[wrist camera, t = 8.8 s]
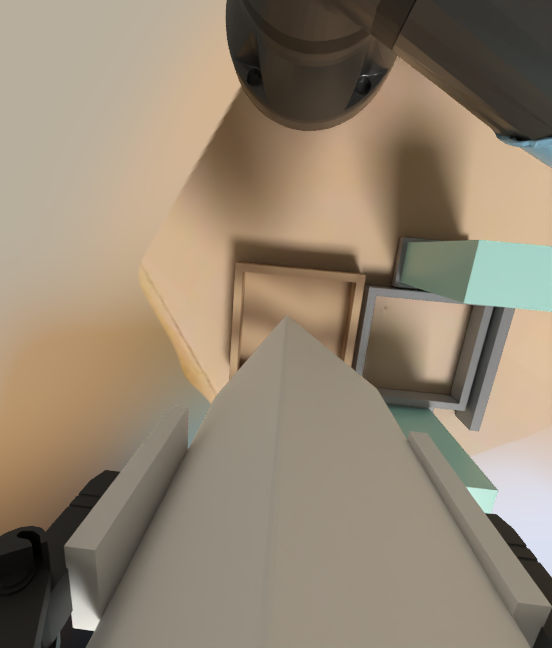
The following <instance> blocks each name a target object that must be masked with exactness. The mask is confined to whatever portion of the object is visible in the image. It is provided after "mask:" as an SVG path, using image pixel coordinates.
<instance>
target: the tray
mask: <svg viewBox="0 0 552 648" xmlns="http://www.w3.org/2000/svg"><path fill="white" fill-rule="evenodd" d="M365 278H366V275H364V274H361V273H354V272H344V271H333V270H322V269H312V268H301V267H290V266H280V265H269V264H258V263H248V262H237V263H235V281H234V300H233V318H232V337H231V355H230V374H229V380H230V379H231V378H232V377H233V376H234V375H235V373H236V372H237V371H238V370H239V369H240V368H241V367H242V365H243V364H244V363H245V362H246V361H247V360H248V358H249V357H250V356H251V355H252V354H253V353H254V351H255V350H256V349H257V348H258V347H259V346H260V344H261V343H262V342H263V341H264V340H265V339H266V338H267V336H268V335H269V334H270V333H271V332H272V331H273V329H274V328H275V327H276V326H277V325H278V324H279V323H280V321H281V320H282V319H283V318H284V317H285V316H289V317H290V318H292V319H293V320H294V321H295V322H296V323H298V324H299V325H300V326H301V327H302V328H304V329H305V330H306V331H307V332H309V333H310V334H311V335H312V336H313V337H315V338H316V339H317V340H318V341H319V342H321V343H322V344H323V345H324V346H326V347H327V348H328V349H329V350H330V351H332V352H333V353H334V354H335V355H336V356H338V357H339V358H340V359H341V360H343V361H344V362H345V363H346V364H347V365H349V366H350V367H351V364H352V358H353V352H354V346H355V340H356V333H357V327H358V321H359V315H360V309H361V303H362V297H363V290H364V284H365Z"/></svg>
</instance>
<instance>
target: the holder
mask: <svg viewBox="0 0 552 648" xmlns="http://www.w3.org/2000/svg"><path fill="white" fill-rule="evenodd" d="M391 286H394V287H403V288H414V289H422V290H414V289H403V288H393V287H382V286H372V285H365V288H364V294H363V300H362V306H361V312H360V318H359V325H358V331H357V337H356V343H355V349H354V355H353V361H352V367H351V368H352V369H353V370H355V371H356V372H357V373H358V374H360V375H361V376H362V374H363V368H364V362H365V357H366V351H367V345H368V340H369V334H370V328H371V322H372V317H373V311H374V305H375V299H376V296H384V297H394V298H404V299H415V300H425V301H436V302H446V303H457V304H467V305H473V308H472V312H471V316H470V320H469V324H468V328H467V332H466V335H465V339H464V343H463V347H462V351H461V355H460V359H459V362H458V366H457V370H456V374H455V378H454V382H453V386H452V390H451V393H450V395H443V394H433V393H424V392H414V391H405V390H395V389H385V388H376V387H375V388H376V389H377V390H378V391H379V393H380V395H381V396H382V398H383V400H384V401H385V403H386V405H387V406H388V408H389V410H390V411H391V413H392V415H393V417H394V418H395V420H396V422H397V423H398V425H399V427H400V428H401V430H402V432H403V433H404V435H405V437H406V438H407V440H408V436H409V431H413V432H422V433H427V434H428V435H429V436H430V438H431V439H432V441H433V442H434V443H435V445H436V446H437V448H438V449H439V450H440V452H441V453H442V455H443V456H444V457H445V459H446V460H447V461H448V463H449V464H450V466H451V467H452V468H453V470H454V471H455V473H456V474H457V475H458V477H459V478H460V480H461V481H462V482H463V484H464V485H465V486H466V488H467V489H468V491H469V492H470V493H471V495H472V496H473V498H474V499H475V500H476V502H477V503H478V504H479V506H480V507H481V509H482V510H483V511H484V513H488V514H491V511H492V508H493V505H494V502H495V499H496V496H497V493H498V490H497V489H496V487H495V486H494V485H493V484H492V483H491V482H490V480H489V479H488V478H487V477H486V476H485V475H484V473H483V472H482V471H481V470H480V468H479V467H478V466H477V465H476V464H475V462H474V461H473V460H472V459H471V458H470V457H469V455H468V454H467V453H466V452H465V451H464V449H463V448H462V447H461V446H460V445H459V443H458V442H457V441H456V440H455V439H454V438H453V436H452V435H451V434H450V433H449V432H448V430H447V429H446V428H445V427H444V426H443V424H442V423H441V422H440V421H439V420H438V419H437V417H436V416H435V415H434V414H433V410H434V408H440V409H449V410H457V411H456V415H455V416H456V417H457V418H458V419H459V420H460V421H461V422H462V423H463V424H464V425H465V426H466V427H467V428H468V429H469V430H472V431H479V430H480V426H481V423H482V419H483V416H484V413H485V409H486V406H487V403H488V399H489V396H490V392H491V389H492V386H493V382H494V379H495V375H496V372H497V369H498V365H499V362H500V358H501V355H502V352H503V348H504V345H505V342H506V338H507V335H508V331H509V328H510V325H511V321H512V318H513V314H514V311H515V308H518V309H529V310H539V311H550V312H552V246H542V245H530V244H519V243H508V242H497V241H486V240H464V241H443V240H432V239H421V238H410V237H400V242H399V247H398V253H397V258H396V263H395V269H394V274H393V280H392V285H391Z"/></svg>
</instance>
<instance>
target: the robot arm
mask: <svg viewBox="0 0 552 648" xmlns="http://www.w3.org/2000/svg"><path fill="white" fill-rule="evenodd" d="M226 31H227V40H228V46H229V50H230V54H231V58H232V61H233V64H234V67H235V70H236V73H237V76H238V78H239V81H240V83H241V85H242V87H243V89H244V91H245V92H246V94H247V96H248V97H249V98H250V100H251V101H252V102H253V104H254V105H255V106H256V107H257V108H258V109H259V110H260V111H261V112H262V113H263V114H265V115H266V116H267V117H269V118H270V119H271V120H273V121H275V122H277V123H279V124H281V125H283V126H286V127H288V128H292V129H296V130H303V131H316V130H323V129H328V128H331V127H334V126H337V125H339V124H341V123H343V122H345V121H347V120H349V119H350V118H352V117H353V116H355V115H356V114H357V113H359V112H360V111H361V110H362V109H363V108H364V107H366V106H367V104H368V103H369V102H370V101H371V100H372V99H373V98H374V96H375V95H376V94H377V92H378V91H379V90H380V88H381V86H382V85H383V83H384V81H385V79H386V78H387V76H388V74H389V72H390V70H391V68H392V67H393V64H394V62H395V60H396V58H397V56H399V57H400V58H401V59H403V60H404V61H405V62H407V63H408V64H409V65H411V66H412V67H413V68H415V69H416V70H417V71H419V72H420V73H421V74H423V75H424V76H425V77H426V78H428V79H429V80H430V81H432V82H433V83H434V84H436V85H437V86H438V87H439V88H441V89H442V90H443V91H444V92H446V93H447V94H448V95H449V96H451V97H452V98H453V99H455V100H456V101H457V102H458V103H460V104H461V105H462V106H463V107H465V108H466V109H467V110H469V111H470V112H471V113H472V114H474V115H475V116H476V117H477V118H479V119H480V120H481V121H483V122H484V123H485V124H486V125H488V126H489V127H490V128H491V129H493V131H494V132H495V134H496V136H497V138H498V139H499V140H500V141H502V142H504V143H506V144H508V145H512V146H516V147H520V148H522V149H523V150H525V151H526V152H528V153H529V154H531V155H532V156H534V157H535V158H537V159H538V160H540V161H541V162H543V163H544V164H546V165H547V166H549V167H551V168H552V0H227V3H226ZM408 442H409V443H410V445H411V447H412V448H413V450H414V452H415V454H416V455H417V457H418V459H419V460H420V462H421V464H422V465H423V467H424V469H425V470H426V472H427V474H428V475H429V477H430V479H431V480H432V482H433V484H434V486H435V487H436V489H437V491H438V492H439V494H440V496H441V497H442V499H443V501H444V502H445V504H446V506H447V507H448V509H449V511H450V512H451V514H452V516H453V517H454V519H455V521H456V523H457V524H458V526H459V528H460V529H461V531H462V533H463V534H464V536H465V538H466V539H467V541H468V543H469V544H470V546H471V548H472V549H473V551H474V553H475V555H476V556H477V558H478V560H479V561H480V563H481V565H482V566H483V568H484V570H485V571H486V573H487V575H488V576H489V578H490V580H491V581H492V583H493V585H494V586H495V588H496V590H497V592H498V593H499V595H500V597H501V598H502V600H503V602H504V603H505V605H506V607H507V608H508V610H509V612H510V613H511V615H512V617H513V618H514V620H515V622H516V623H517V625H518V627H519V629H520V630H521V632H522V634H523V635H524V637H525V639H526V640H527V642H528V644H529V645H530V647H531V648H552V577H551V576H550V575H549V574H548V572H547V571H546V570H545V568H544V567H543V566H542V565H541V563H538V561H537V558H536V557H535V556H534V554H533V553H532V552H531V551H530V549H528V548H527V547H526V544H525V543H524V542H523V540H522V539H521V538H520V536H518V534H517V533H516V531H515V530H514V529H513V528H512V527H511V526H509V525H508V524H507V523H506V522H505V521H503V520H502V519H501V518H500V517H499V516H498V515H496V514H488V513H484V511H483V510H482V509H481V507H480V506H479V504H478V503H477V502H476V500H475V499H474V498H473V496H472V495H471V493H470V492H469V491H468V489H467V488H466V486H465V485H464V484H463V482H462V481H461V480H460V478H459V477H458V475H457V474H456V473H455V471H454V470H453V468H452V467H451V466H450V464H449V463H448V461H447V460H446V459H445V457H444V456H443V455H442V453H441V452H440V450H439V449H438V448H437V446H436V445H435V443H434V442H433V441H432V439H431V438H430V436H429V435H428V434H427V433H422V432H413V431H409V436H408ZM187 451H188V407H183V406H174V405H172V406H171V407H170V408H169V409H168V411H167V412H166V414H165V415H164V416H163V417H162V418H161V420H160V421H159V422H158V424H157V425H156V427H155V428H154V429H153V430H152V432H151V433H150V434H149V435H148V437H147V438H146V439H145V441H144V442H143V443H142V445H141V446H140V447H139V449H138V450H137V451H136V453H135V454H134V455H133V456H132V458H131V459H130V460H129V462H128V463H127V464H126V466H125V467H124V468H123V470H122V471H121V472H117V471H109V470H105V471H104V472H102V473H101V474H99V475H98V476H96V477H95V478H93V479H92V480H90V482H89V483H88V484H87V485H86V486H85V487H84V488H83V489H82V491H81V492H80V493H79V495H78V496H77V497H76V498H75V499H74V500H73V501H72V502H71V503H70V505H69V507H67V508H66V509H65V510H64V511H63V513H62V514H61V515H60V516H59V517H58V518H57V519H56V521H55V522H54V523H53V524H52V525H51V527H50V528H49V529H48V530H47V531H46V532H45V531H44V530H43V529H42V528H40V527H35V526H28V527H21V528H17V529H15V530H12V531H10V532H7V533H5V534H3V535H2V536H0V648H60V631H61V629H62V627H63V626H64V624H65V623H66V621H67V619H68V618H69V616H70V614H71V613H72V622H73V628H77V629H85V630H93V631H95V629H96V627H97V625H98V623H99V622H100V620H101V618H102V616H103V614H104V612H105V610H106V608H107V606H108V604H109V602H110V600H111V598H112V596H113V594H114V592H115V591H116V589H117V587H118V585H119V583H120V581H121V579H122V577H123V575H124V573H125V571H126V569H127V567H128V565H129V563H130V561H131V560H132V558H133V556H134V554H135V552H136V550H137V548H138V546H139V544H140V542H141V540H142V538H143V536H144V534H145V532H146V530H147V528H148V527H149V525H150V523H151V521H152V519H153V517H154V515H155V513H156V511H157V509H158V507H159V505H160V503H161V501H162V499H163V497H164V496H165V494H166V492H167V490H168V488H169V486H170V484H171V482H172V480H173V478H174V476H175V474H176V472H177V470H178V468H179V466H180V465H181V463H182V461H183V459H184V457H185V455H186V453H187Z"/></svg>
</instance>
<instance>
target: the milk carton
mask: <svg viewBox="0 0 552 648" xmlns="http://www.w3.org/2000/svg"><path fill="white" fill-rule="evenodd" d="M86 648H531V647H530V645H529V644H528V642H527V640H526V639H525V637H524V635H523V634H522V632H521V630H520V629H519V627H518V625H517V623H516V622H515V620H514V618H513V617H512V615H511V613H510V612H509V610H508V608H507V607H506V605H505V603H504V602H503V600H502V598H501V597H500V595H499V593H498V592H497V590H496V588H495V586H494V585H493V583H492V581H491V580H490V578H489V576H488V575H487V573H486V571H485V570H484V568H483V566H482V565H481V563H480V561H479V560H478V558H477V556H476V555H475V553H474V551H473V549H472V548H471V546H470V544H469V543H468V541H467V539H466V538H465V536H464V534H463V533H462V531H461V529H460V528H459V526H458V524H457V523H456V521H455V519H454V517H453V516H452V514H451V512H450V511H449V509H448V507H447V506H446V504H445V502H444V501H443V499H442V497H441V496H440V494H439V492H438V491H437V489H436V487H435V486H434V484H433V482H432V480H431V479H430V477H429V475H428V474H427V472H426V470H425V469H424V467H423V465H422V464H421V462H420V460H419V459H418V457H417V455H416V454H415V452H414V450H413V448H412V447H411V445H410V443H409V442H408V440H407V438H406V437H405V435H404V433H403V432H402V430H401V428H400V427H399V425H398V423H397V422H396V420H395V418H394V417H393V415H392V413H391V411H390V410H389V408H388V406H387V405H386V403H385V401H384V400H383V398H382V396H381V395H380V393H379V391H378V390H377V389H376V388H375V387H374V386H373V385H372V384H370V383H369V382H368V381H367V380H366V379H364V378H363V377H362V376H361V375H360V374H358V373H357V372H356V371H355V370H353V369H352V368H351V367H350V366H349V365H347V364H346V363H345V362H344V361H343V360H341V359H340V358H339V357H338V356H336V355H335V354H334V353H333V352H332V351H330V350H329V349H328V348H327V347H326V346H324V345H323V344H322V343H321V342H319V341H318V340H317V339H316V338H315V337H313V336H312V335H311V334H310V333H309V332H307V331H306V330H305V329H304V328H302V327H301V326H300V325H299V324H298V323H296V322H295V321H294V320H293V319H292V318H290V317H289V316H285V317H284V318H283V319H282V320H281V321H280V323H279V324H278V325H277V326H276V327H275V328H274V329H273V331H272V332H271V333H270V334H269V335H268V336H267V338H266V339H265V340H264V341H263V342H262V343H261V344H260V346H259V347H258V348H257V349H256V350H255V351H254V353H253V354H252V355H251V356H250V357H249V358H248V360H247V361H246V362H245V363H244V364H243V365H242V367H241V368H240V369H239V370H238V371H237V372H236V373H235V375H234V376H233V377H232V378H231V379H230V380H229V382H228V383H227V384H226V385H225V386H224V387H223V389H222V390H221V391H220V392H219V393H218V394H217V396H216V397H215V399H214V401H213V402H212V404H211V406H210V408H209V410H208V412H207V414H206V416H205V418H204V420H203V422H202V424H201V426H200V428H199V430H198V432H197V434H196V435H195V437H194V439H193V441H192V443H191V445H190V447H189V449H188V451H187V453H186V455H185V457H184V459H183V461H182V463H181V465H180V466H179V468H178V470H177V472H176V474H175V476H174V478H173V480H172V482H171V484H170V486H169V488H168V490H167V492H166V494H165V496H164V497H163V499H162V501H161V503H160V505H159V507H158V509H157V511H156V513H155V515H154V517H153V519H152V521H151V523H150V525H149V527H148V528H147V530H146V532H145V534H144V536H143V538H142V540H141V542H140V544H139V546H138V548H137V550H136V552H135V554H134V556H133V558H132V560H131V561H130V563H129V565H128V567H127V569H126V571H125V573H124V575H123V577H122V579H121V581H120V583H119V585H118V587H117V589H116V591H115V592H114V594H113V596H112V598H111V600H110V602H109V604H108V606H107V608H106V610H105V612H104V614H103V616H102V618H101V620H100V622H99V623H98V625H97V627H96V629H95V631H94V633H93V635H92V637H91V639H90V641H89V643H88V645H87V647H86Z"/></svg>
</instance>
